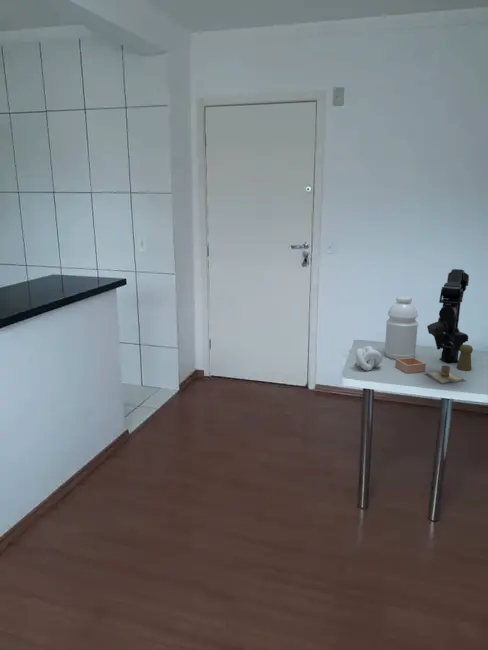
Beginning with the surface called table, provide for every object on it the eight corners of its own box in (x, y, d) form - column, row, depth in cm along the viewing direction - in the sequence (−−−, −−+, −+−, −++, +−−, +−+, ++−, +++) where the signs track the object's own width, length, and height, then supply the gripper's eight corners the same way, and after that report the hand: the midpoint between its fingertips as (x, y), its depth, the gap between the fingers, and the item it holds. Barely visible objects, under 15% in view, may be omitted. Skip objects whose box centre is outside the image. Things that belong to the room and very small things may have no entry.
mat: (447, 372, 223) (447, 371, 223) (466, 382, 212) (466, 381, 212) (423, 375, 220) (423, 374, 220) (441, 385, 209) (441, 384, 209)
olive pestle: (464, 372, 223) (467, 348, 220) (453, 368, 228) (455, 344, 225) (474, 370, 225) (477, 346, 223) (463, 366, 231) (465, 342, 228)
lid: (447, 372, 222) (448, 361, 221) (463, 380, 213) (464, 369, 211) (427, 374, 219) (428, 363, 218) (442, 383, 210) (443, 371, 209)
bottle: (378, 353, 248) (381, 296, 241) (399, 349, 255) (404, 293, 247) (399, 362, 236) (404, 301, 229) (421, 357, 243) (426, 298, 235)
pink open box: (412, 365, 231) (413, 357, 230) (425, 372, 223) (425, 363, 222) (395, 367, 229) (395, 359, 228) (406, 374, 221) (407, 365, 220)
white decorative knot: (370, 374, 221) (372, 354, 219) (346, 368, 229) (347, 348, 227) (384, 368, 229) (385, 348, 226) (360, 362, 237) (361, 343, 234)
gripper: (418, 311, 216) (415, 347, 220) (446, 322, 199) (442, 361, 203) (441, 310, 219) (438, 345, 223) (471, 320, 202) (466, 359, 206)
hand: (445, 352), depth 214 cm, fingers open, 9 cm apart
